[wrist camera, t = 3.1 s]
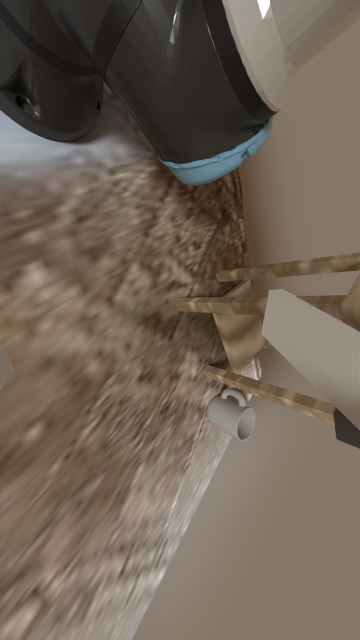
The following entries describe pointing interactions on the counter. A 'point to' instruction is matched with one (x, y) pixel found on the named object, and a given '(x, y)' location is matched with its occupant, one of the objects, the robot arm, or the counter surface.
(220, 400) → the cup
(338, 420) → the grey square bar
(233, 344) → the stand
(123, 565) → the counter surface
